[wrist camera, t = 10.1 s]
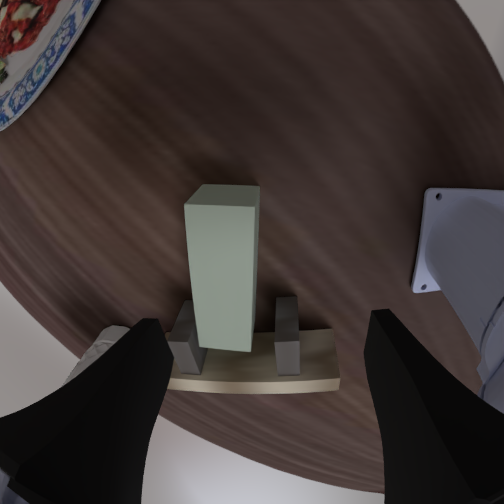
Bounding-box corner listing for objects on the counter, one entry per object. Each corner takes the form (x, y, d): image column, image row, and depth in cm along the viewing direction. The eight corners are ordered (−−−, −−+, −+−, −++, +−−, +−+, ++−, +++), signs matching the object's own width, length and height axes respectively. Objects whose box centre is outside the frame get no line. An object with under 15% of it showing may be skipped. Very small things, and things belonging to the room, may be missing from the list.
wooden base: (334, 293, 20) (345, 343, 16) (331, 341, 22) (338, 390, 18) (153, 300, 22) (129, 343, 18) (171, 343, 24) (153, 386, 20)
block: (260, 185, 17) (254, 206, 14) (255, 313, 22) (250, 352, 18) (203, 183, 17) (184, 204, 14) (210, 310, 22) (199, 346, 19)
